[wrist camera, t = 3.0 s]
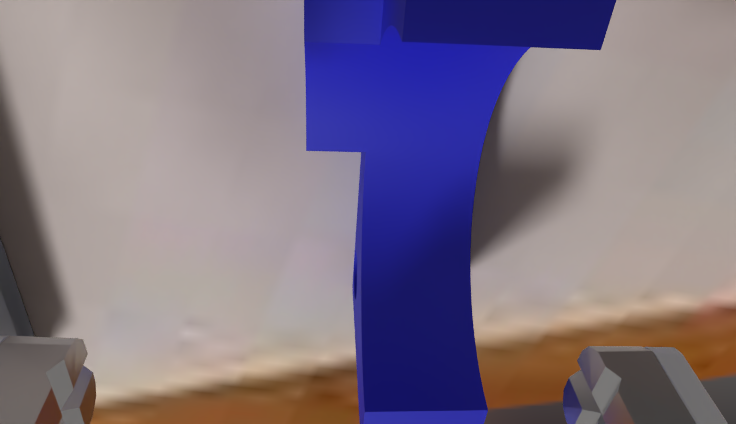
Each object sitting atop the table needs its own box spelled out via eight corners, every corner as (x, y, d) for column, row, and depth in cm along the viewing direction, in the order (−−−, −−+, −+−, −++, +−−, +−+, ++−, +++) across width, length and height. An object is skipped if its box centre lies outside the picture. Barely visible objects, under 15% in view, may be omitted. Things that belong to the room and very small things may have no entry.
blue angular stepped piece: (307, -132, 12) (296, -79, 7) (515, -118, 12) (634, -59, 8) (307, 282, 19) (301, 448, 14) (439, 283, 20) (476, 445, 15)
